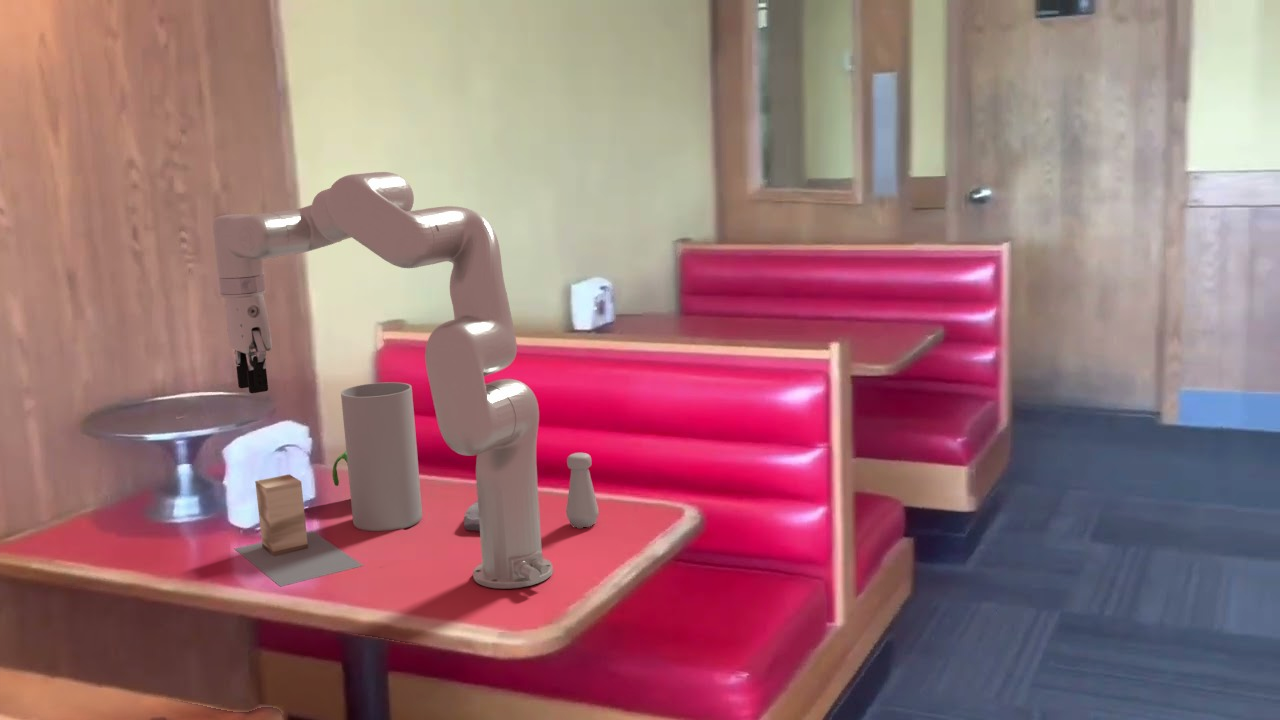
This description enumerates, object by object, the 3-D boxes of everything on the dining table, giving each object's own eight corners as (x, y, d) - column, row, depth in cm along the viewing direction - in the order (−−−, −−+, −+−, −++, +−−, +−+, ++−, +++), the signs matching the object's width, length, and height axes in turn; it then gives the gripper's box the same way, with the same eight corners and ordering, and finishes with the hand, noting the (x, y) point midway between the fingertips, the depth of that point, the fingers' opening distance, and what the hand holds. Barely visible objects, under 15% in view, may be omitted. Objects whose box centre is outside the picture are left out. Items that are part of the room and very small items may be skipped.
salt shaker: (605, 521, 221) (601, 451, 219) (588, 531, 216) (584, 460, 214) (578, 518, 224) (574, 448, 222) (560, 527, 219) (556, 456, 217)
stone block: (527, 542, 218) (536, 514, 227) (523, 519, 216) (532, 491, 226) (461, 546, 219) (473, 517, 229) (457, 522, 218) (469, 494, 227)
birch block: (308, 548, 213) (301, 481, 211) (273, 556, 210) (266, 488, 208) (296, 539, 218) (289, 474, 216) (262, 547, 215) (255, 481, 213)
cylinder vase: (340, 524, 227) (327, 391, 222) (397, 507, 236) (386, 379, 231) (378, 538, 218) (366, 400, 214) (436, 520, 227) (425, 387, 222)
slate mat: (363, 567, 204) (363, 565, 203) (280, 588, 196) (280, 586, 196) (312, 532, 223) (311, 530, 223) (234, 550, 215) (234, 548, 215)
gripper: (280, 288, 208) (291, 393, 211) (248, 280, 222) (259, 379, 225) (235, 293, 204) (247, 400, 207) (206, 285, 218) (217, 385, 221)
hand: (253, 388), depth 216 cm, fingers open, 5 cm apart
